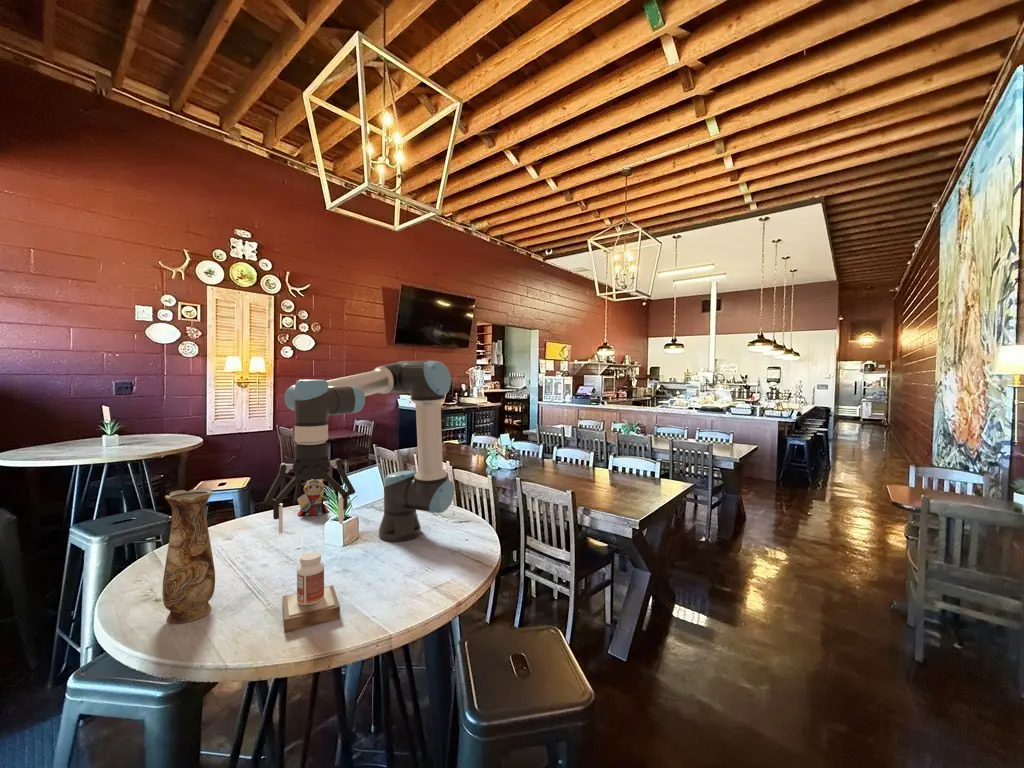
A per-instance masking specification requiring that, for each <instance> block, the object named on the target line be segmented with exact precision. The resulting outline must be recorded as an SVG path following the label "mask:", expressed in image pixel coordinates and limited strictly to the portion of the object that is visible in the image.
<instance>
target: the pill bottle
mask: <svg viewBox="0 0 1024 768" xmlns="http://www.w3.org/2000/svg"><path fill="white" fill-rule="evenodd" d="M321 560H322V554H321V553H320V552H317V551H312V552H307V553H305V554H303V555H300V559H299V563H300V565H298V567H297V569H296V593H297V602H298V603H299V604H300V605H312V604H315V603H318V602H320V601H321V600H322V599H323V597H324V587H325V566H324V565H325V564H324V562H322V561H321Z"/></svg>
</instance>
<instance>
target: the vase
mask: <svg viewBox="0 0 1024 768" xmlns="http://www.w3.org/2000/svg"><path fill="white" fill-rule="evenodd" d="M212 494H213V489H212V488H210V487H205V488H204V487H203V488H200V489H198V490H196V489H193V488H192V489H190V490H188V491H187V490H185V489H182V490H181V489H180V490H179V489H178V490H174V491H171V492H169V495H167V494H166V495H165V496H164V498H165V500H166V501H167V502H168V504H169V505H170V508H171V513H172V514H171V515H172V516H171V524H170V533H169V539H168V546H167V553H166V559H165V565H164V572H163V576H162V577H163V579H162V589H161V590H162V591H161V593H162V601H163V605H164V608H165V609H166V610H168V611H169V614H168V615H167V618H166V621H167V622H168V623H169V624H184V623H188V622H192V621H196V620H198V619H200V618H203V617H204V616H206V615H208V614H209V613H210V612H211V611H212V606H211V604H210V603H209V601H211V599H212V598H213V595H214V593H215V587H216V570H215V564H214V563H215V562H214V557H213V550H212V544H211V539H210V534H209V533H210V532H209V527H208V519H207V508H206V506H207V503H208V501H209V499H210V497H211V495H212Z"/></svg>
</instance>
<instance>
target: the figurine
mask: <svg viewBox="0 0 1024 768" xmlns="http://www.w3.org/2000/svg"><path fill="white" fill-rule="evenodd" d="M324 487H325V488H326V485H325V484H324V478H320V479H318V480H314V479H311V480H308V481H306V482H305V485H304V486H303V492H304V494H302V495H301V496H300V497H298V498H297V502H298V505H299V507H300V510H299V511H298V513H297V516H298V517H301V516H302V515H303V514H304V515H305V516H309V515H310V516H316V515H317V516H322V515H323V514H324V512H325V514H327V513H330V510H329V509H328V508H327V507H326V504H325V505H324V504H323V501H324V500H325V496H324V493H325V491H324ZM328 510H329V511H328ZM323 511H324V512H323Z"/></svg>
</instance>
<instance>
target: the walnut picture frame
mask: <svg viewBox="0 0 1024 768" xmlns="http://www.w3.org/2000/svg"><path fill="white" fill-rule="evenodd" d="M281 599H282V602H281V603H282V607H281V608H282V619H283V621H282V622H283V631H284V633H285V634H286V633H288V632H293V631H297V630H301V629H305V628H308V627H313V626H316V625H320V624H325V623H328V622H332V621H337V620H340V619H341V606H340V603H339V599H338V596H337V593H336V590H335V587H334V585H328V586H327V585H326V586H324V597H323V599H322V600H321V601H320V602H318V603H315V604H312V605H300V604H299V603H298V602H297V592H295V593H291V594H285V595H283V596H282V598H281Z"/></svg>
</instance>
